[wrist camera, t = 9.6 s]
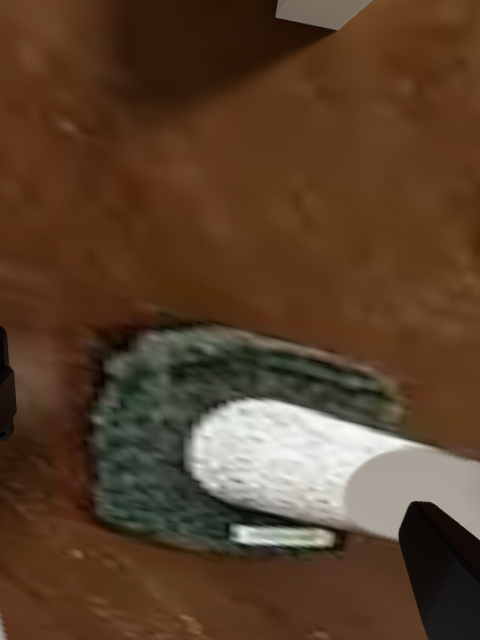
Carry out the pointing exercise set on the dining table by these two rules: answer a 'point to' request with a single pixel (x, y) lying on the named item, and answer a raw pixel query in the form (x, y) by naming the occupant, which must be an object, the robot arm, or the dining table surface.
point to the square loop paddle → (320, 11)
